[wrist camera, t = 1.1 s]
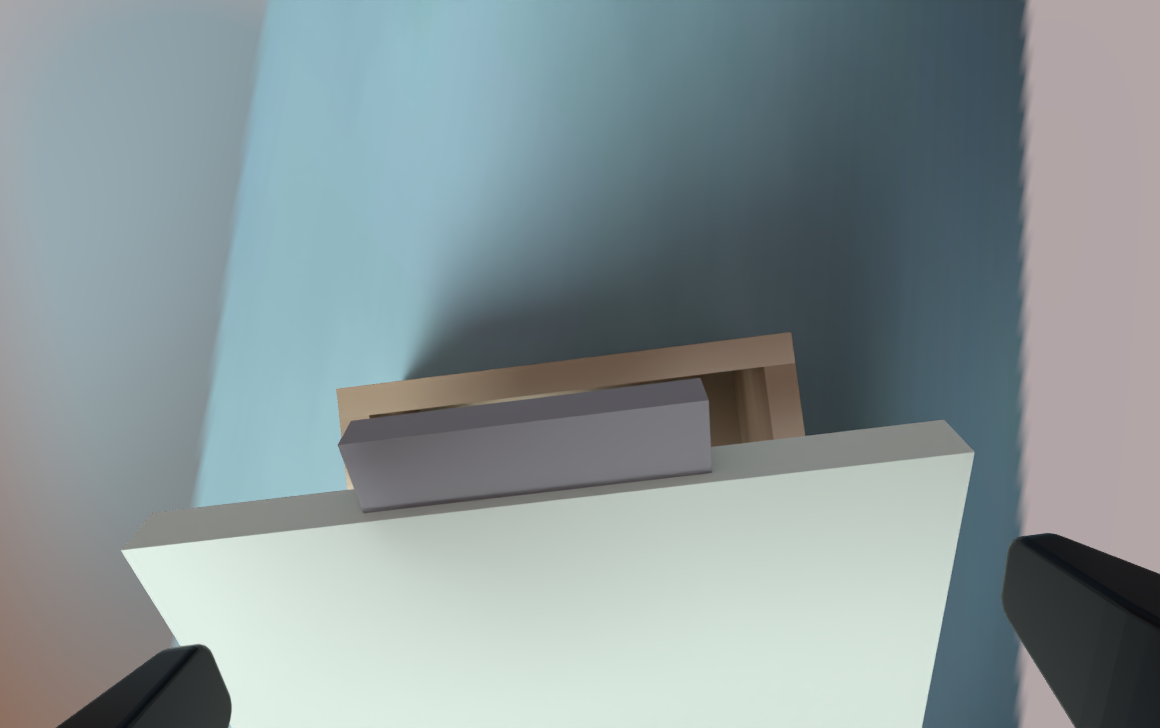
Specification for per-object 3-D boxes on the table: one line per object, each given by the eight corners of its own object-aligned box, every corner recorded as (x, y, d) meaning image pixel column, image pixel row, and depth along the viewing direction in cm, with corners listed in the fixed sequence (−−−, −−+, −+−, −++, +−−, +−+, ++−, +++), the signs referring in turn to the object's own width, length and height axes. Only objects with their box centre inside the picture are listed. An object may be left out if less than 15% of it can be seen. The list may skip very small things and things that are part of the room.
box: (806, 768, 21) (866, 888, 16) (445, 802, 22) (395, 929, 17) (749, 344, 22) (791, 331, 17) (398, 387, 22) (336, 388, 17)
